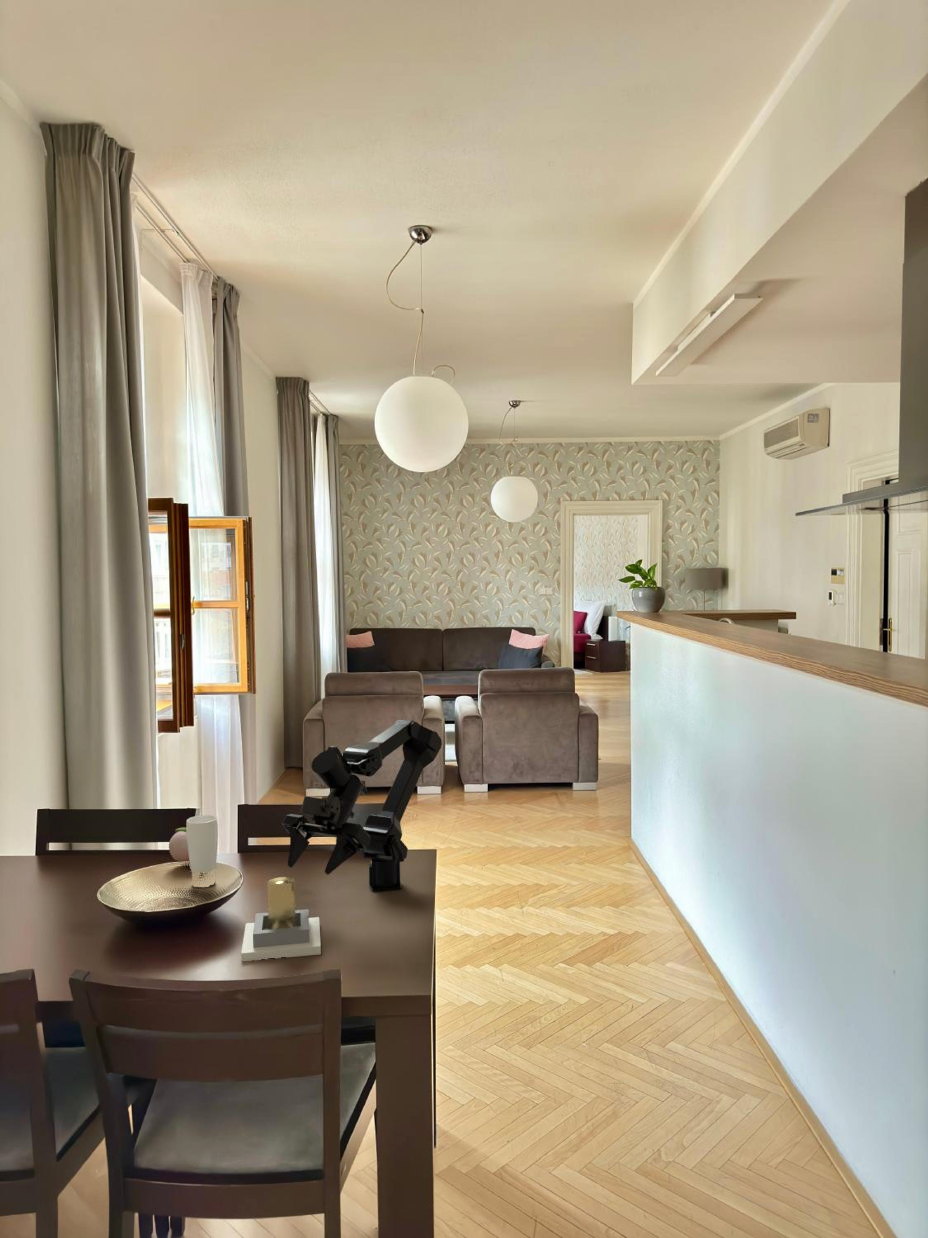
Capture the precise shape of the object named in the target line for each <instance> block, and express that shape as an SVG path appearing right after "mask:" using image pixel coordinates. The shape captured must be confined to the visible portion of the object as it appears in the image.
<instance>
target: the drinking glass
mask: <svg viewBox="0 0 928 1238" xmlns="http://www.w3.org/2000/svg"><path fill="white" fill-rule="evenodd" d="M185 824H186V827H185V828H186V834H187V846H188V854H189V863H190V866H189V869H191V870H193V871H195V872H204V871H211V870H213V869H214V868H215V866H216V867H217V857H218V845H219V842H218V841H219V827H218V826H219V823H218V817H217V816H215V815H211V814H204V815H203V814H202V815H195V816H191V817H189V818H187V819H186V823H185Z"/></svg>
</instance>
